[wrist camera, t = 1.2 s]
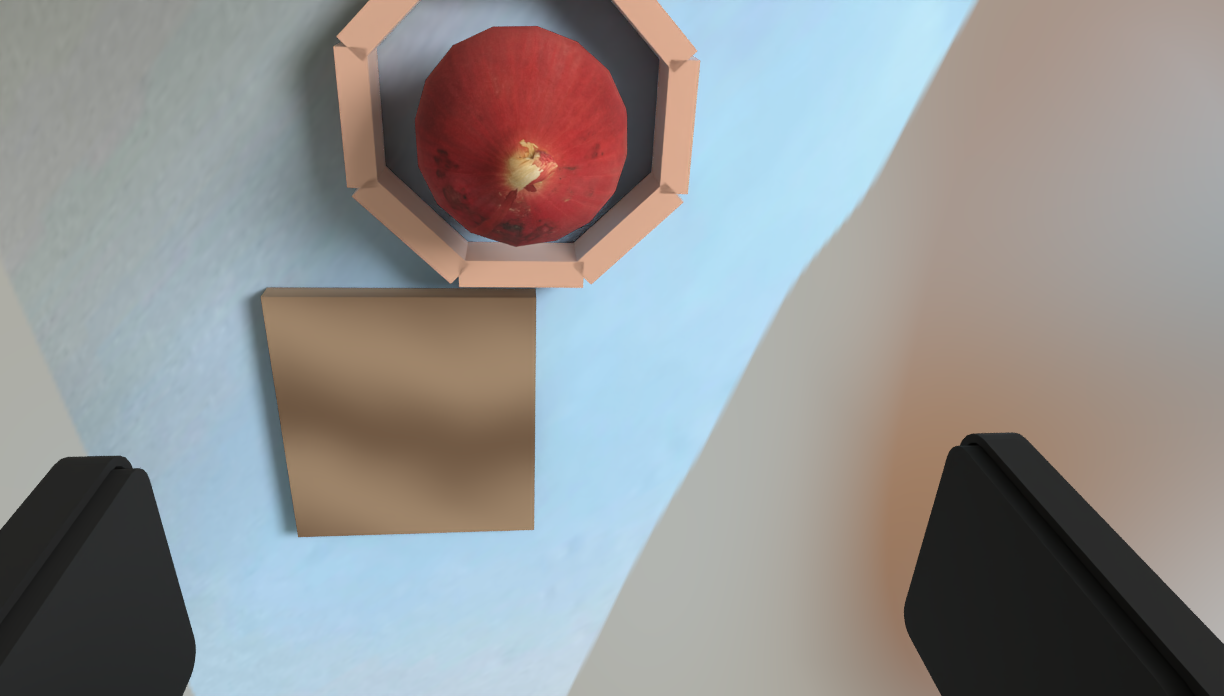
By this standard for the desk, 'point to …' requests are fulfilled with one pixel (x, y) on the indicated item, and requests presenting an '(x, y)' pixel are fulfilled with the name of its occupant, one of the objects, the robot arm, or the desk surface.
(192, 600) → the desk surface
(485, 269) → the ring holder
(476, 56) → the onion
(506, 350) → the board
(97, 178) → the desk surface
